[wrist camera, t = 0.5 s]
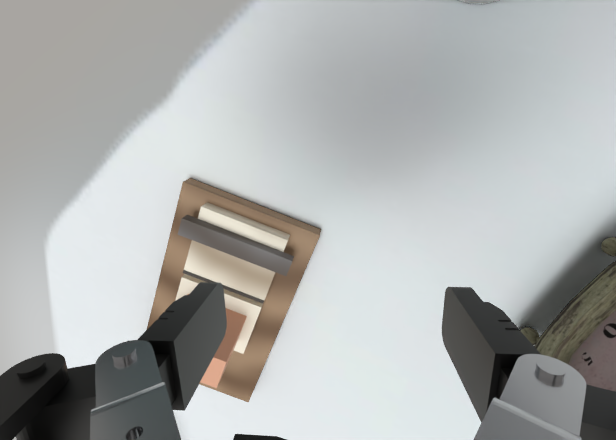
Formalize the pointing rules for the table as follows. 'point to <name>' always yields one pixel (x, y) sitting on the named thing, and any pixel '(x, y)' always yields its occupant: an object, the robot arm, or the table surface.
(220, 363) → the stub
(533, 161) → the table surface
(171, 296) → the stand
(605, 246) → the tabletop clock
